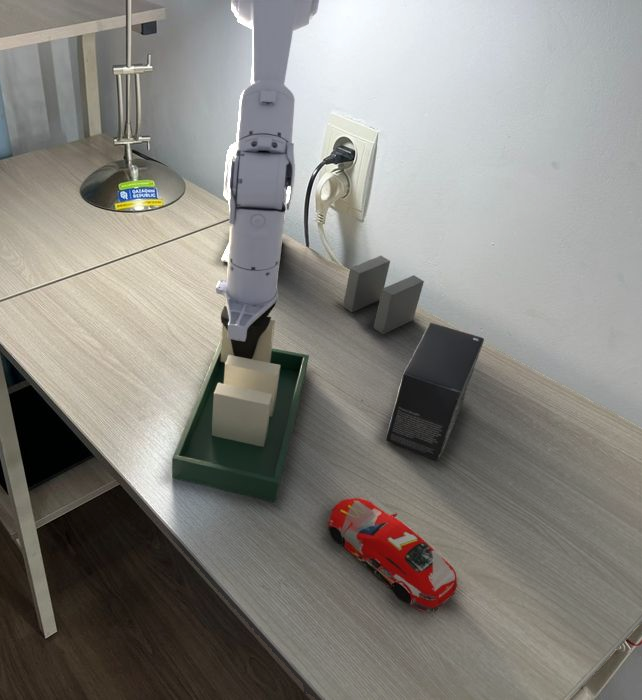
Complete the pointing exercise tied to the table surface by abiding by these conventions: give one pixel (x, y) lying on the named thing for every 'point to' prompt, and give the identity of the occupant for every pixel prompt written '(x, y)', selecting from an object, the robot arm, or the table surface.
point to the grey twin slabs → (382, 294)
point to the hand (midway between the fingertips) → (245, 351)
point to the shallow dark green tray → (233, 456)
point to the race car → (393, 553)
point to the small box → (433, 390)
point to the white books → (245, 400)
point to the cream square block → (262, 346)
